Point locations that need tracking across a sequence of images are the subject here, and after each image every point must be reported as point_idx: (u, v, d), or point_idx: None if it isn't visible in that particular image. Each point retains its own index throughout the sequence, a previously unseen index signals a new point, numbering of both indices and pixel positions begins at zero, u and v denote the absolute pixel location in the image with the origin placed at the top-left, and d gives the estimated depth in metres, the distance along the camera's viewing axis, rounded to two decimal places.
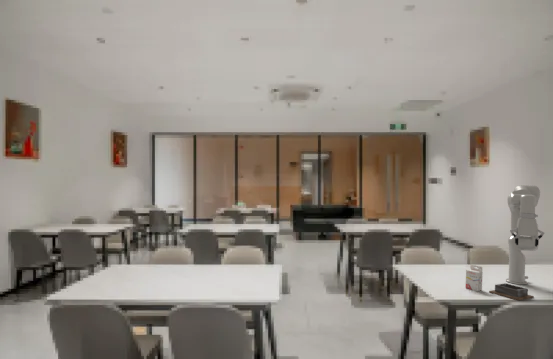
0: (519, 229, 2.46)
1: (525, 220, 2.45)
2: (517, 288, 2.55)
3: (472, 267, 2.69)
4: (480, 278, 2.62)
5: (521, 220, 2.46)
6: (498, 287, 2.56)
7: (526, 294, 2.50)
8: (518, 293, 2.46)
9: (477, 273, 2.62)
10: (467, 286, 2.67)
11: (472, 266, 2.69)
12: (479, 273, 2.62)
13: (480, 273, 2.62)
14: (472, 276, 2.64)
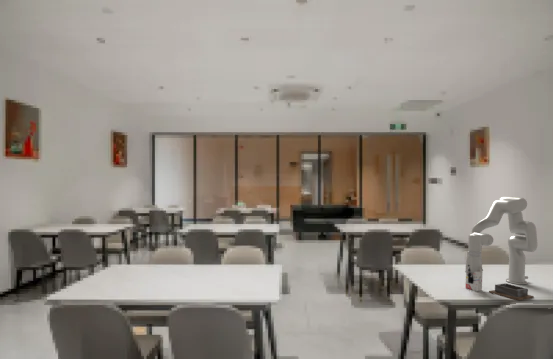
0: (472, 267, 2.62)
1: (476, 258, 2.63)
2: (517, 288, 2.55)
3: None
4: (480, 278, 2.62)
5: (474, 258, 2.63)
6: (498, 287, 2.56)
7: (526, 294, 2.50)
8: (518, 293, 2.46)
9: (477, 273, 2.62)
10: (467, 286, 2.67)
11: None
12: (479, 273, 2.62)
13: (480, 273, 2.62)
14: None
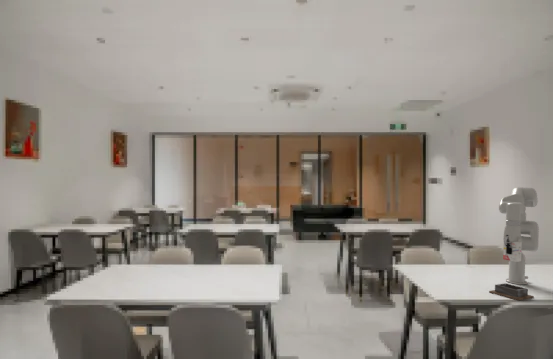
0: (511, 237, 2.51)
1: (515, 227, 2.51)
2: (517, 288, 2.55)
3: None
4: (519, 248, 2.51)
5: (512, 228, 2.51)
6: (498, 287, 2.56)
7: (526, 294, 2.50)
8: (518, 293, 2.46)
9: (516, 243, 2.50)
10: (505, 257, 2.55)
11: None
12: (518, 243, 2.50)
13: (519, 243, 2.51)
14: None
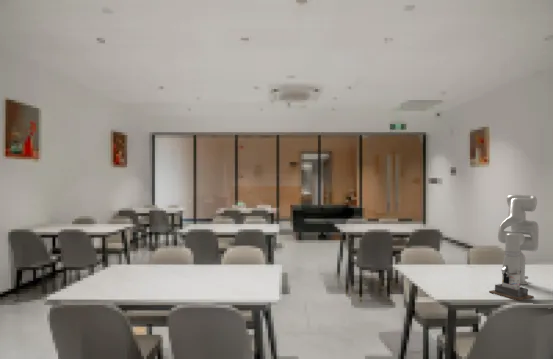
0: (510, 268, 2.51)
1: (514, 258, 2.51)
2: None
3: None
4: (518, 282, 2.51)
5: (511, 259, 2.51)
6: (498, 287, 2.56)
7: (526, 294, 2.50)
8: (518, 293, 2.46)
9: (515, 276, 2.50)
10: None
11: None
12: (517, 276, 2.50)
13: (518, 276, 2.51)
14: (509, 279, 2.53)
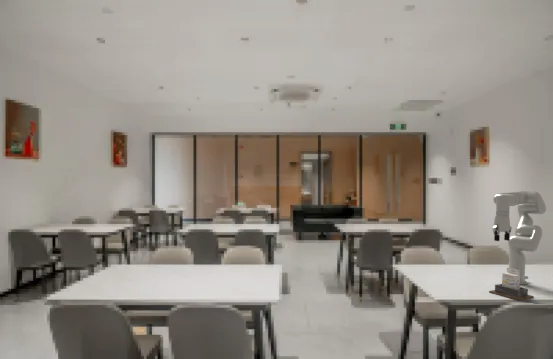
0: (501, 226, 2.68)
1: (504, 217, 2.68)
2: None
3: (509, 270, 2.58)
4: (518, 282, 2.51)
5: (502, 218, 2.68)
6: (498, 287, 2.56)
7: (526, 294, 2.50)
8: (518, 293, 2.46)
9: (515, 276, 2.50)
10: None
11: (509, 269, 2.58)
12: (517, 276, 2.50)
13: (518, 276, 2.51)
14: (509, 279, 2.53)
